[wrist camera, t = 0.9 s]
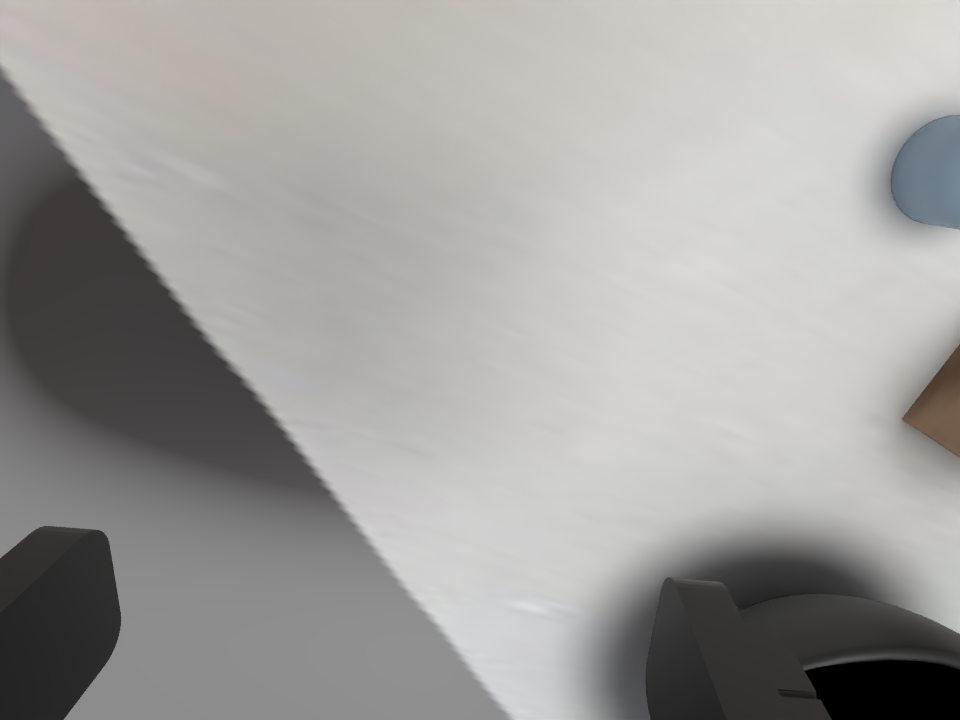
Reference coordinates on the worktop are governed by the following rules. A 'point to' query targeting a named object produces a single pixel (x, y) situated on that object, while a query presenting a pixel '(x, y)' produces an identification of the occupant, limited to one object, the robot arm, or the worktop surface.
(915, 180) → the blue grey cylinder
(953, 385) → the tower base
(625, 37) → the worktop surface
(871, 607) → the coal bowl
